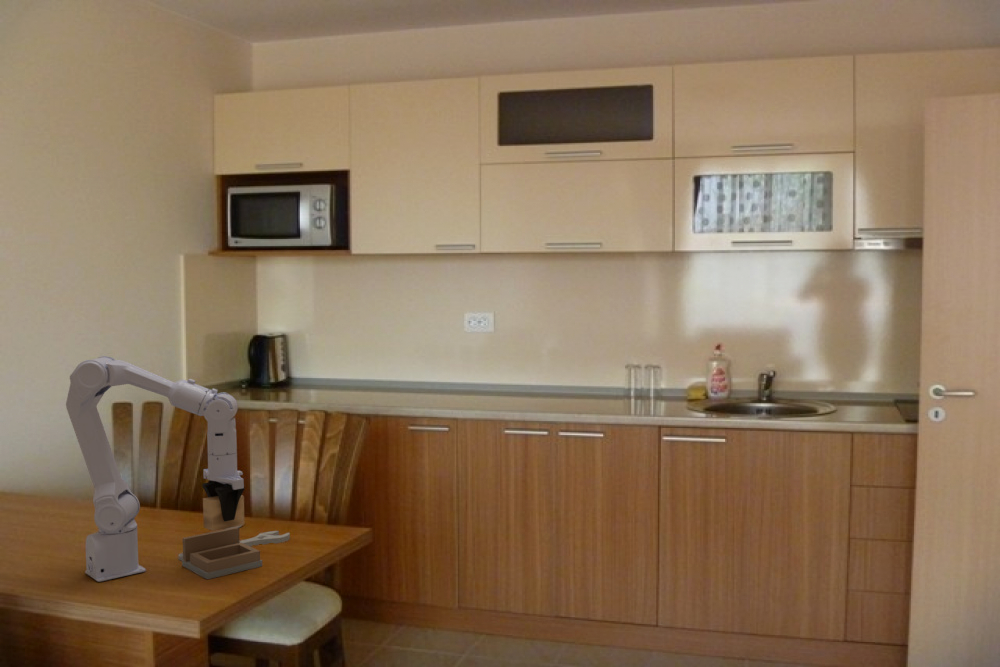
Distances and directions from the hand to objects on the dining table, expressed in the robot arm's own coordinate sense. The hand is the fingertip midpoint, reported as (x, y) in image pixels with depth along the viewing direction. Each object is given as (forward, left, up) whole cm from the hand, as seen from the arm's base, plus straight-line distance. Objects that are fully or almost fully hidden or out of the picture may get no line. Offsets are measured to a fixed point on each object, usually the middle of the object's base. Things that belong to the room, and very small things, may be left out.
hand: (224, 518), depth 183 cm
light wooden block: (0, 0, -2) cm, 2 cm away
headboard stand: (0, +1, -10) cm, 11 cm away
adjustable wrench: (+8, +12, -11) cm, 18 cm away
